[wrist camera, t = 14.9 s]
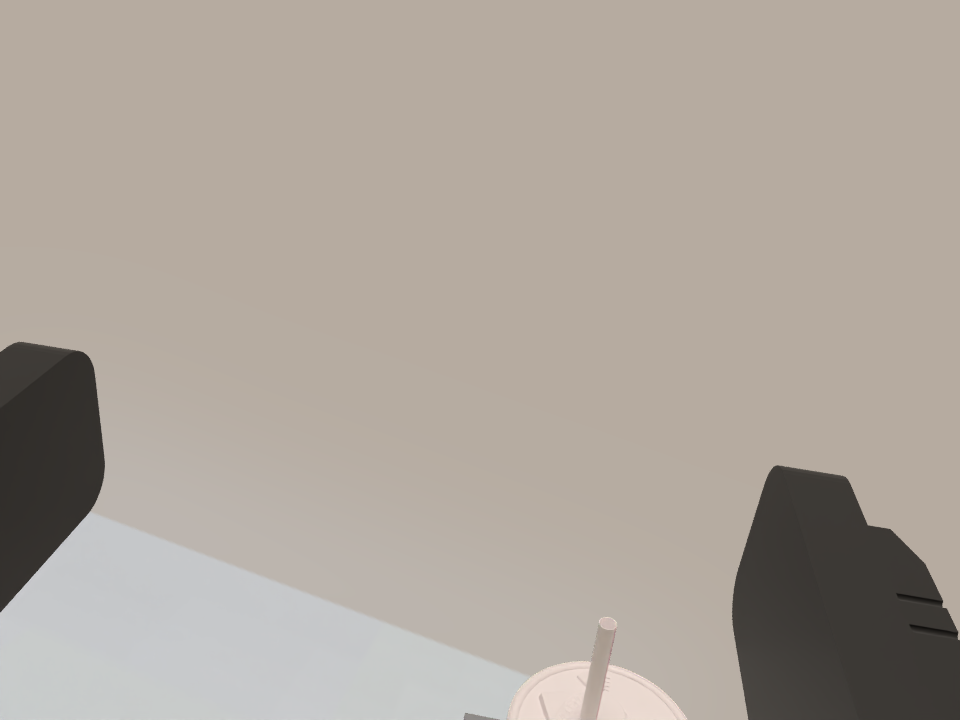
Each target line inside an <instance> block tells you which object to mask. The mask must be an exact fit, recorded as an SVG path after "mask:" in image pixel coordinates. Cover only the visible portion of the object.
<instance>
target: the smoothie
mask: <svg viewBox="0 0 960 720" xmlns="http://www.w3.org/2000/svg"><path fill="white" fill-rule="evenodd" d="M616 628H617V623H616V621H615V620H614V619H612V618H609V617H603V618H601V619H600V621H599V625H598V630H597V635H596V640H595V645H594V650H593V655H592V660H591V661H588V662H587V661H575V662H567V663H562V664H558V665H554V666H551V667H549V668H546V669H544V670H542V671H540V672H538V673H537V674H535V675H533V676H532V677H531V678H529V679H528V680H527V681H526V682H525V683H524V684H523V685H522V686H521V687H520V688H519V690H518V691H517V692H516V694H515V696H514V697H513V700H512V702H511V704H510V707H509V711H508V717H507V720H687V718H686V717H685V715H684V714H683V712H682V711H681V709H680V708H679V707H678V705H677V704H676V703H675V702H674V701H673V700H672V699H671V698H670V697H669V696H668V695H667V694H666V693H665V692H664V691H662V690H661V689H660V688H659V687H658V686H656V685H655V684H653V683H652V682H650V681H649V680H647V679H645V678H644V677H642V676H640V675H638V674H636V673H634V672H631V671H629V670H627V669H623V668H621V667H618V666H614V665H611V664H609V660H610V655H611V651H612V646H613V642H614V637H615V632H616Z"/></svg>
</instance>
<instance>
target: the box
mask: <svg viewBox="0 0 960 720" xmlns="http://www.w3.org/2000/svg"><path fill="white" fill-rule="evenodd" d="M464 720H498V719H493V718H488V717H483V716H478V715H473V714H468V713H465V716H464Z"/></svg>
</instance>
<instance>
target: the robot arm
mask: <svg viewBox="0 0 960 720" xmlns="http://www.w3.org/2000/svg"><path fill="white" fill-rule="evenodd" d="M104 469H105V461H104V451H103V443H102V433H101V424H100V416H99V407H98V398H97V389H96V381H95V373H94V367H93V365H92V362H91V360H90V358H89V357H88V356H87V355H86V354H85V353H83V352H80V351H75V350H69V349H62V348H56V347H50V346H44V345H38V344H31V343H24V342H17V343H14V344H12V345H10V346H8V347H7V348H6V349H4V350H3V351H1V352H0V612H1V611H2V610H3V609H4V608H5V607H6V606H7V604H8V603H9V602H10V601H11V600H12V599H13V598H14V597H15V595H16V594H17V593H18V592H19V591H20V590H21V589H22V588H23V586H24V585H25V584H26V583H27V582H28V581H29V580H30V579H31V577H32V576H33V575H34V574H35V573H36V572H37V571H38V570H39V568H40V567H41V566H42V565H43V564H44V563H45V562H46V561H47V559H48V558H49V557H50V556H51V555H52V554H53V553H54V552H55V550H56V549H57V548H58V547H59V546H60V545H61V544H62V543H63V541H64V540H65V539H66V538H67V537H68V536H69V535H70V534H71V532H72V531H73V530H74V529H75V528H76V527H77V526H78V525H79V523H80V522H81V521H82V520H83V519H84V518H85V517H86V516H87V514H88V513H89V512H90V511H91V509H92V507H93V506H94V504H95V502H96V500H97V498H98V495H99V493H100V490H101V486H102V483H103V478H104ZM942 603H943V600H942V598H941V596H940V594H939V592H938V590H937V587H936V585H935V583H934V581H933V579H932V577H931V575H930V573H929V571H928V569H927V567H926V565H925V564H924V562H923V561H922V560H921V559H919V557H918V556H917V555H916V554H915V553H914V552H913V551H912V550H911V549H910V548H909V547H908V546H907V545H906V544H905V543H904V542H903V541H902V540H901V539H900V538H898V536H896V534H894V532H893V531H892V530H891V529H886V528H880V527H874V526H868V525H867V523H866V520H865V518H864V515H863V513H862V511H861V508H860V506H859V504H858V501H857V499H856V497H855V494H854V492H853V489H852V487H851V485H850V483H849V481H848V479H847V478H846V477H844V476H840V475H834V474H828V473H821V472H815V471H809V470H803V469H796V468H790V467H784V466H775V467H773V468H772V470H771V471H770V473H769V474H768V477H767V479H766V482H765V485H764V488H763V491H762V494H761V497H760V501H759V504H758V507H757V510H756V513H755V517H754V520H753V523H752V526H751V530H750V533H749V536H748V539H747V543H746V546H745V549H744V552H743V556H742V559H741V562H740V565H739V568H738V572H737V576H736V581H735V586H734V594H733V608H732V617H733V619H732V620H733V629H734V636H735V642H736V648H737V654H738V660H739V666H740V672H741V677H742V683H743V690H744V696H745V702H746V707H747V714H748V719H749V720H960V640H958V637H957V636H958V631H957V629H956V627H955V625H954V623H953V620H952V619H951V616H950V614H949V612H948V610H947V609H946V608H942Z"/></svg>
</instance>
